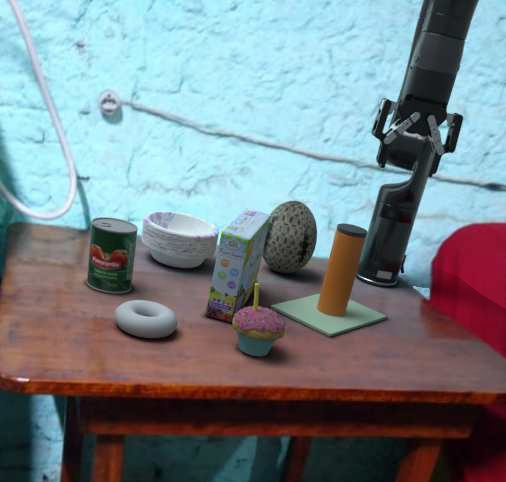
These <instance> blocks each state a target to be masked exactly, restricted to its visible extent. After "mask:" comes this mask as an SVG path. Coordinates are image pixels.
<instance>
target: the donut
mask: <svg viewBox="0 0 506 482" xmlns="http://www.w3.org/2000/svg"><path fill="white" fill-rule="evenodd" d="M114 321H115V323H116V325H117V326H118V327H119V329H121V330H122V331H123V332H125V333H127V334H129V335H132V336H135V337H138V338H143V339H160V338H165V337H168V336H170V335H172V334H173V333H174V332H175V330H176V329H177V326H178V318H177V315H176V313H174V312H173V310H172V309H171V308H169V307H168V306H165V305H164V304H161V303H159V302H157V301H151V300H144V299H135V300H128V301H125V302H122V303H121V304H119V305H118V307H116V309H115V311H114Z"/></svg>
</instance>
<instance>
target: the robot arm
mask: <svg viewBox="0 0 506 482" xmlns="http://www.w3.org/2000/svg"><path fill="white" fill-rule="evenodd" d="M479 2H480V0H422V5H421V8H420V11H419V15H418V18H417V22H416V26H415V29H414V34H413V37H412V43H411V46H410V51H409V56H408V60H407V64H406V67H405V72H404V76H403V80H402V84H401V87H400V90H399V93H398V97H397V99H396V101H393V100H391V99H390V98H387V97H383V98H382V99H381V100H380V103H379V105H378V106H379V107H378V110H377V114H376V115H375V119H374V122H373V125H372V128H371V135H372V136H373V137H374V138H375V139H377V140H378V141H379V146H378V150H377V154H376V157H375V161H376V163H377V166H378V167H379V168H380V169H385V167H386V166H390V167H393V168H397V169H401V170H404V171H407V172H411V175H410V176H409V178H408V179H406V180H404V181H399V182H389V183H388V182H387V183H383V184H382V185H380V186H379V189H378V193H377V196H376V199H375V204H374V207H373V209H372V215H371V218H370V221H369V224H368V229H367V232H368V233H367V236H366V240H365V244H364V247H363V251H362V255H361V258H360V262H359V266H358V269H357V273H356V276H355V277H356V278H358V279H359V280H361V281H363V282H364V283H368V284H371V285H374V286H379V287H385V288H386V287H387V288H388V287H395V286H396V285H397V282H398V278H399V275H400V274H405V266H404V265H405V262H406V259H407V254H406V252H407V250H408V247H409V241H410V238H411V234H412V231H413V228H414V224H415V221H416V218H417V214H418V213H419V212H418V211H419V208H420V206H421V201H422V198H423V196H424V193H425V189H426V186H427V183H428V180H429V178H432V177H433V175H436V174H437V172H438V169H439V167H440V163H441V160H442V157H443V156H444V155H445V154H453V153H454V152H455V151H456V148H457V145H458V142H459V137H460V134H461V130H462V126H463V122H464V116H463V114H460V113H458V112H453V113H450V112H448V105H449V102H450V100H451V96H452V93H453V90H454V85H455V82H456V79H457V76H458V73H459V71H460V69H461V62H462V60H463V55H464V49H465V44H466V40H467V37H468V35H469V31H470V27H471V24H472V21H473V17H474V15H475V12H476V9H477V6H478V4H479ZM390 115H391V118H390V122H389V125H388V128H387V130H386V131H385V132H384V129H385V126H386V124H387V120H388V117H389V116H390ZM445 121H446V126H447V127H448V130H447V134H446V138H445V141H444V143H443V142H442V137H441V131H440V129H439V127H441V126H442V124H443V123H444V122H445Z"/></svg>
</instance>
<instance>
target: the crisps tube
mask: <svg viewBox="0 0 506 482" xmlns="http://www.w3.org/2000/svg"><path fill="white" fill-rule="evenodd" d="M335 229H336V230H335V233H334V238H333V241H332V245H331V249H330V253H329V257H328V261H327V265H326V269H325V272H324V276H323V281H322V285H321V288H320V293H319V294H320V296H319V300H318V304H317V309H318V310H319V311H320V312H322V313H324V314H326V315H330V316H335V317H342V316H344V315H345V313H346V309H347V306H348V302H349V299H351V295H352V290H353V288H354V283H355V279H356V277H357V276H356V273H357V269H358V266H359V262H360V258H361V255H362V251H363V247H364V244H365V240H366V236H367V233H368V229H365V228H363V227H361V226H359V225H355V224H352V223H343V222H342V223H338V224H337V226H336V228H335Z"/></svg>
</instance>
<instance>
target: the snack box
mask: <svg viewBox="0 0 506 482" xmlns="http://www.w3.org/2000/svg"><path fill="white" fill-rule="evenodd" d="M270 214H271V213H266V212H262V211H260V210H256V209H251V208H248V207H247V208H244V210H242V212H241V213H239V215H238V216H236V218H235V219H234V220H232V221H231V222H230V223H229V224H228V225H227V226H226V227H225V228H224V229H223V230H222V231H221V232H220V238H219V243H218V248H217V254H216V258H215V265H214V270H213V275H212V279H211V283H210V289H209V293H208V300H207V304H206V309H205V314H204V315H205V316H207V317H211V318H213V319H217V320H220V321H224V322H228V323H232V321H233V317H234V314H235V313H237V311H239V310H241V309H243V308H244V306H245V304H246V303H247V301H248V300H249V298H250V297H251V296H252V294H253V293H254V292H255V284H256V279H257V280H258V275H259V270H260V266H261V261H262V258H263V257H262V253H263V248H264V244H265V240H266V235H267V231H268V226H269V222H270V218H271V215H270Z"/></svg>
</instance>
